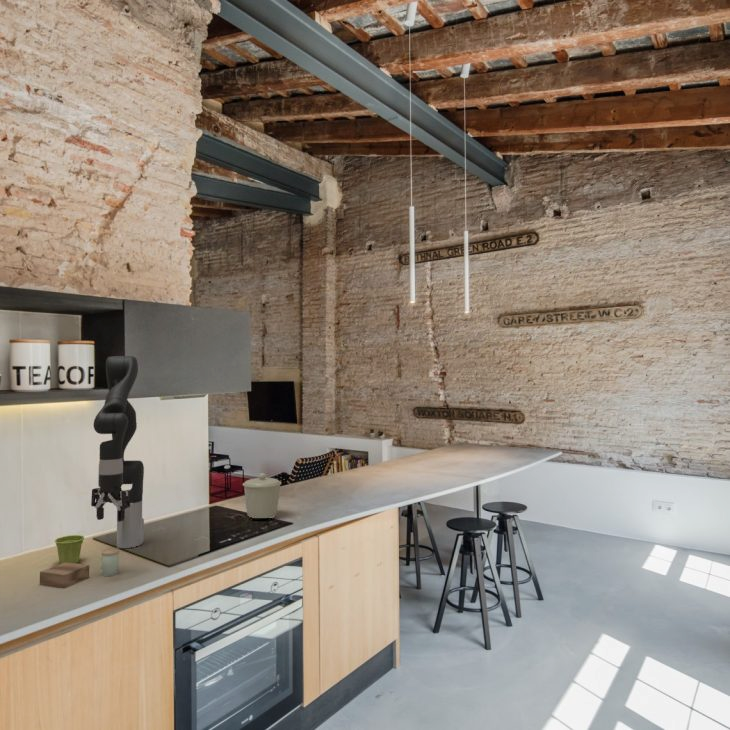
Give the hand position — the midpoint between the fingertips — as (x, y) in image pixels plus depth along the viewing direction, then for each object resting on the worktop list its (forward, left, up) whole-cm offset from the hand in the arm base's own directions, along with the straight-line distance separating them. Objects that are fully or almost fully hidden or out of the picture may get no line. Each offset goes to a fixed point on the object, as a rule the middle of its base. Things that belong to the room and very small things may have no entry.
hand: (110, 520), depth 185 cm
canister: (-82, +12, -18) cm, 85 cm away
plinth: (+10, -9, -18) cm, 22 cm away
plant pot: (-4, -22, -18) cm, 29 cm away
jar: (0, 0, -18) cm, 18 cm away
